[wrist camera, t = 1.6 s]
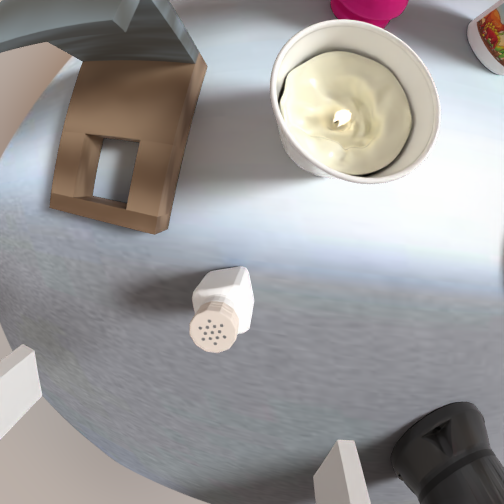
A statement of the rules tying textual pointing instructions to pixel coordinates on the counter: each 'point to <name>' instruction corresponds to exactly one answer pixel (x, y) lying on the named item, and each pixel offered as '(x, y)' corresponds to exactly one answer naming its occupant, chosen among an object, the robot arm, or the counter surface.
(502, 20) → the milk bottle
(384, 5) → the pepper mill
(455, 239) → the counter surface
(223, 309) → the salt shaker
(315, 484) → the robot arm
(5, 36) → the socket stand
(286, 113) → the candle holder
